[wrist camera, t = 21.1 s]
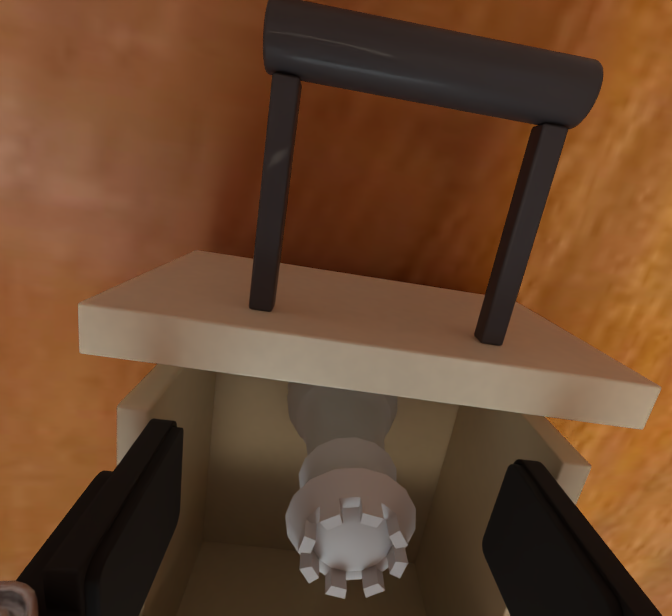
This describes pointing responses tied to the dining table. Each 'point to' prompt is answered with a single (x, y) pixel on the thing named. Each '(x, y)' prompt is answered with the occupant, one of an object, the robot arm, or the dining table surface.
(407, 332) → the drawer
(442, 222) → the dining table surface
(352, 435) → the rook chess piece
